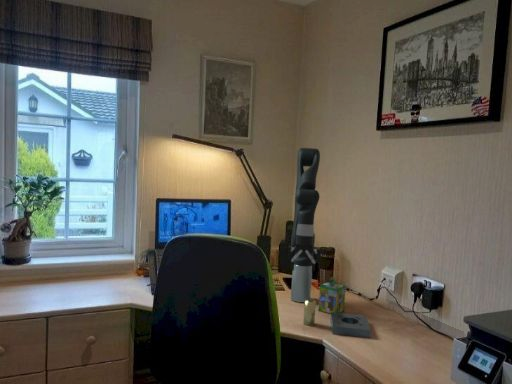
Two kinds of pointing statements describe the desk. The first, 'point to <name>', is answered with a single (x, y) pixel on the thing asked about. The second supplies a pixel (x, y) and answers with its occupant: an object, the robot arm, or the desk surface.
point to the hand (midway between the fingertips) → (302, 271)
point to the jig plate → (350, 325)
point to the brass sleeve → (309, 312)
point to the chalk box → (332, 297)
